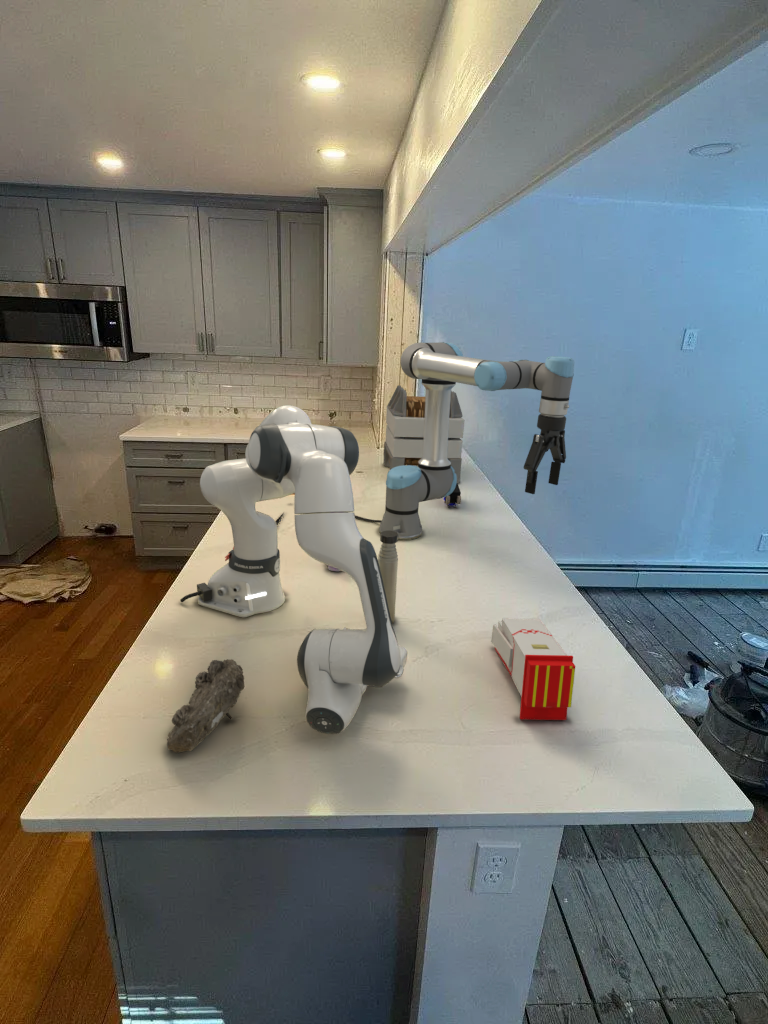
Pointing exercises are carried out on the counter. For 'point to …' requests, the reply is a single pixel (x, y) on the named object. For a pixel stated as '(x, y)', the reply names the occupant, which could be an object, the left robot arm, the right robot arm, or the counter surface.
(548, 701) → the toy
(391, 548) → the bottle
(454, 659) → the counter surface
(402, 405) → the white wooden crate
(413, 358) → the right robot arm
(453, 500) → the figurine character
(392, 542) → the cap
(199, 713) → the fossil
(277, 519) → the feather
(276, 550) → the left robot arm
